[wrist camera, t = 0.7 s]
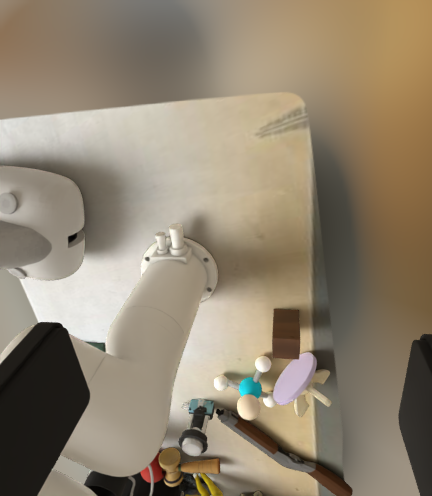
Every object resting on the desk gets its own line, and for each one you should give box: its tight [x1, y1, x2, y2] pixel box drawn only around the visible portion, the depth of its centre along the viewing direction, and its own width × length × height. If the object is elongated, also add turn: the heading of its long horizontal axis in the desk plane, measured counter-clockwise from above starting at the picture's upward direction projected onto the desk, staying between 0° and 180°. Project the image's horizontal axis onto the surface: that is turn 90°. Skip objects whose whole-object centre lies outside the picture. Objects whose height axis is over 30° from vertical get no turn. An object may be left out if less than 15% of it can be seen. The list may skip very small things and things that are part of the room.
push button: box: [179, 399, 214, 456], centre depth 70 cm, size 7×5×10 cm
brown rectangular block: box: [272, 309, 300, 360], centre depth 57 cm, size 4×4×7 cm
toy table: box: [273, 352, 332, 417], centre depth 62 cm, size 10×9×6 cm
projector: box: [0, 166, 85, 281], centre depth 52 cm, size 22×23×15 cm
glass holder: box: [84, 464, 154, 496], centre depth 76 cm, size 9×14×15 cm, turn 56°
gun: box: [216, 409, 352, 496], centre depth 75 cm, size 2×34×7 cm
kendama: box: [141, 448, 220, 487], centre depth 82 cm, size 8×6×18 cm
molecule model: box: [214, 356, 277, 420], centre depth 64 cm, size 12×12×9 cm
